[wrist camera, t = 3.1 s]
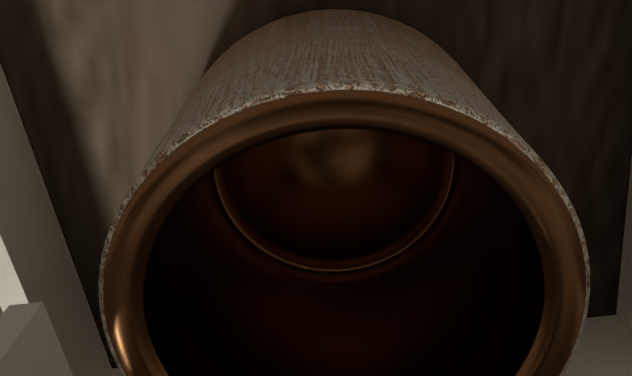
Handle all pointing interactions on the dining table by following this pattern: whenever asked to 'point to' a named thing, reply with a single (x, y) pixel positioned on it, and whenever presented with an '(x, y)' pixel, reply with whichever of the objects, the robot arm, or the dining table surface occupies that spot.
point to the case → (72, 306)
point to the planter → (343, 221)
